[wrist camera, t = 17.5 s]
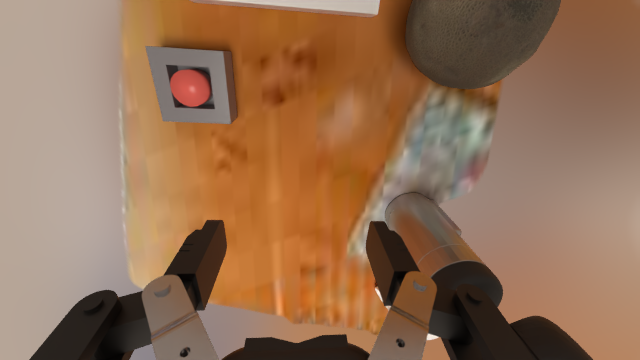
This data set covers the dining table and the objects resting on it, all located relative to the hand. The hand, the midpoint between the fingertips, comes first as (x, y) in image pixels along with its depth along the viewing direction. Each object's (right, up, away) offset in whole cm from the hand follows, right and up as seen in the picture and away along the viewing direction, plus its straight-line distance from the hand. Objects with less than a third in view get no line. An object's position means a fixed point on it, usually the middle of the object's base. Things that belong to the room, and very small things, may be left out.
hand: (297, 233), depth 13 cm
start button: (-16, +16, +20) cm, 30 cm away
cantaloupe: (+18, +24, +21) cm, 36 cm away
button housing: (-16, +17, +22) cm, 32 cm away
